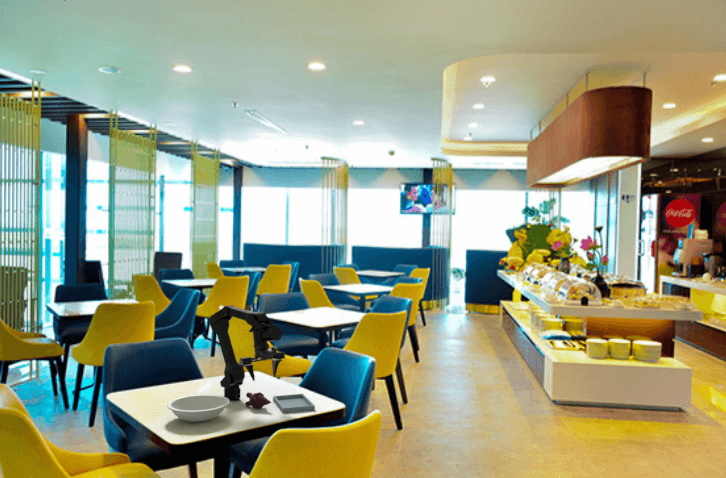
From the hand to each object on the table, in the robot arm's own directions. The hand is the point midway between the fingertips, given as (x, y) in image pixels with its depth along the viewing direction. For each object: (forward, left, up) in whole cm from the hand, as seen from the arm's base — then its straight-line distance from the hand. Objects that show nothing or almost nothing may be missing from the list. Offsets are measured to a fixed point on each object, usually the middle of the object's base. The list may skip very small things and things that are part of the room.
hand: (264, 378), depth 243 cm
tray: (+13, 0, -12) cm, 18 cm away
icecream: (-3, 0, -13) cm, 13 cm away
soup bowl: (-27, -7, -13) cm, 31 cm away
